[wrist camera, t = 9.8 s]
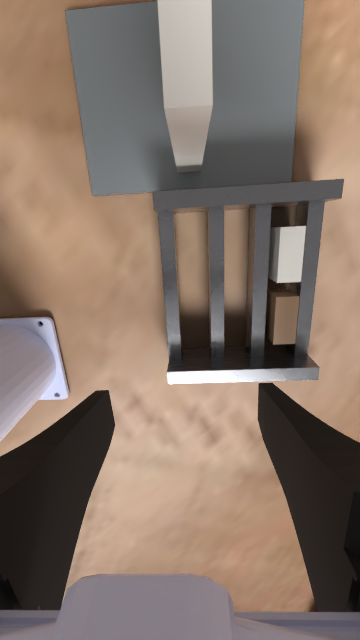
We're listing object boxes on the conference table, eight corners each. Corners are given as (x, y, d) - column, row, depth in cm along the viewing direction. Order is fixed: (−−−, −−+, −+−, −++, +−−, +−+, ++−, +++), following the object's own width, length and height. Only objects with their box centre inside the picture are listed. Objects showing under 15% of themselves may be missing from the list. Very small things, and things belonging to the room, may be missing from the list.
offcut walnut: (262, 330, 22) (273, 344, 19) (264, 288, 21) (276, 297, 18) (281, 329, 22) (295, 343, 19) (284, 287, 21) (299, 296, 18)
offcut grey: (265, 275, 21) (277, 283, 18) (267, 227, 20) (280, 227, 17) (285, 274, 21) (301, 281, 18) (289, 226, 20) (306, 225, 17)
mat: (94, 196, 19) (92, 195, 19) (68, 16, 16) (64, 10, 16) (288, 183, 19) (291, 181, 18) (302, -8, 15) (305, -15, 15)
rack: (171, 359, 23) (168, 384, 20) (160, 199, 19) (152, 191, 15) (296, 354, 23) (318, 379, 19) (312, 189, 19) (344, 178, 15)
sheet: (177, 172, 18) (164, 108, 9) (169, 20, 16) (138, -306, 6) (200, 171, 18) (212, 104, 9) (196, 18, 15) (207, -317, 6)
